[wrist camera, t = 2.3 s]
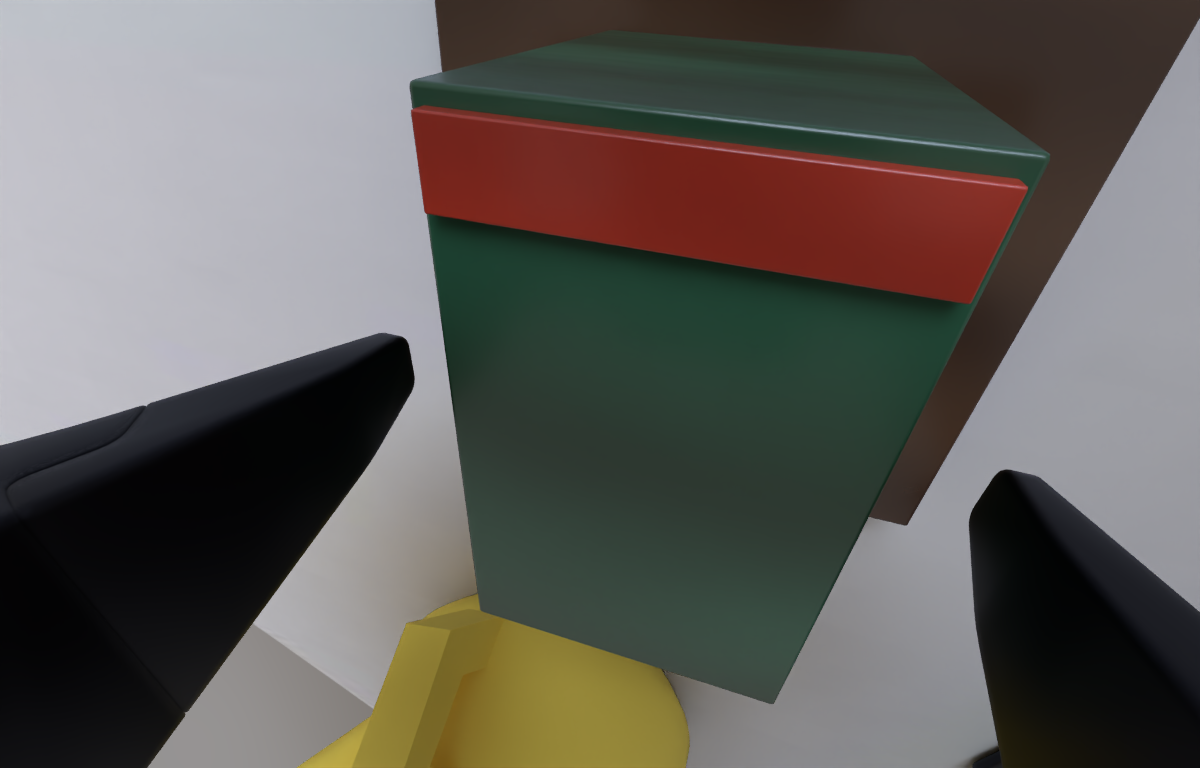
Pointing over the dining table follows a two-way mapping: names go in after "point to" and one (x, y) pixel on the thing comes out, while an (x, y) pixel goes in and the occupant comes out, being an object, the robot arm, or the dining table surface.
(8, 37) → the dining table surface
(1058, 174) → the brown square board
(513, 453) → the green box
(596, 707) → the teapot
